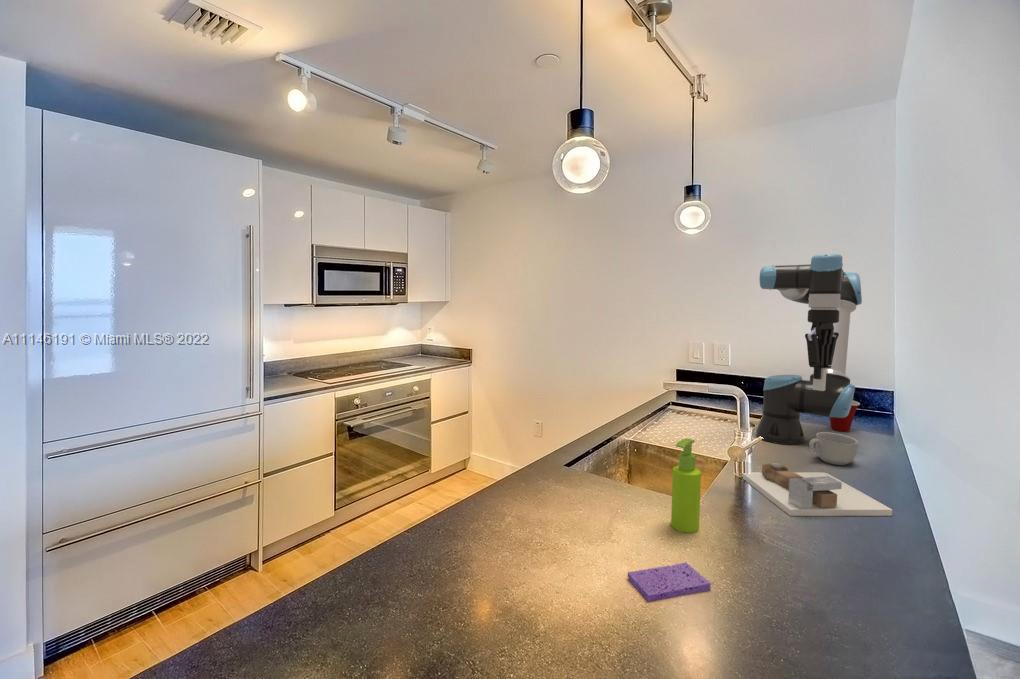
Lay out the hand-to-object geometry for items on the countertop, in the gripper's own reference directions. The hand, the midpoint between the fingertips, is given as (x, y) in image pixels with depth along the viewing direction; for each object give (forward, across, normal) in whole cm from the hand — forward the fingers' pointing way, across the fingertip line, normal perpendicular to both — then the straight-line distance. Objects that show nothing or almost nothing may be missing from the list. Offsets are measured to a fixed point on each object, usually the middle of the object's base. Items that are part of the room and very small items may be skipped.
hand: (818, 389), depth 136 cm
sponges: (+25, +80, +20) cm, 86 cm away
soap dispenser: (+25, +61, +6) cm, 66 cm away
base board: (+24, +18, +9) cm, 32 cm away
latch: (+23, +22, +8) cm, 33 cm away
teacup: (+25, -13, -2) cm, 28 cm away
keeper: (+24, +27, +15) cm, 39 cm away
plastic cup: (+25, -54, -20) cm, 62 cm away
